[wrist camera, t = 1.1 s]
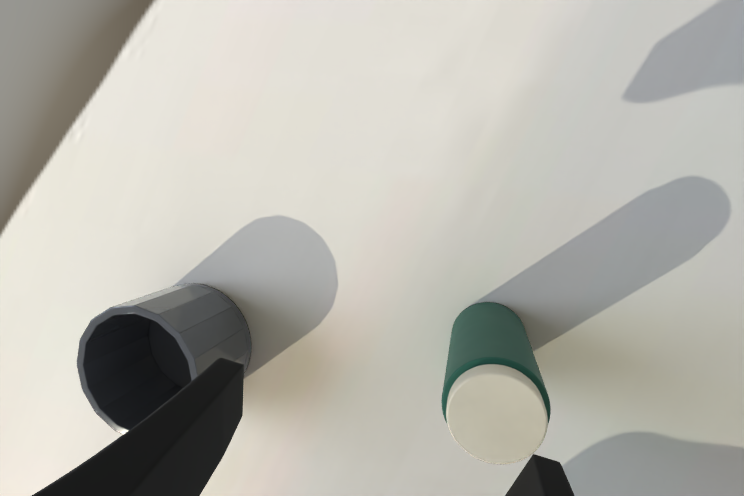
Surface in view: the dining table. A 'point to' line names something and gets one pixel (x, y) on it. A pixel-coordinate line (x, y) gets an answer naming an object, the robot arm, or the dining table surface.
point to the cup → (156, 350)
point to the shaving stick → (494, 386)
